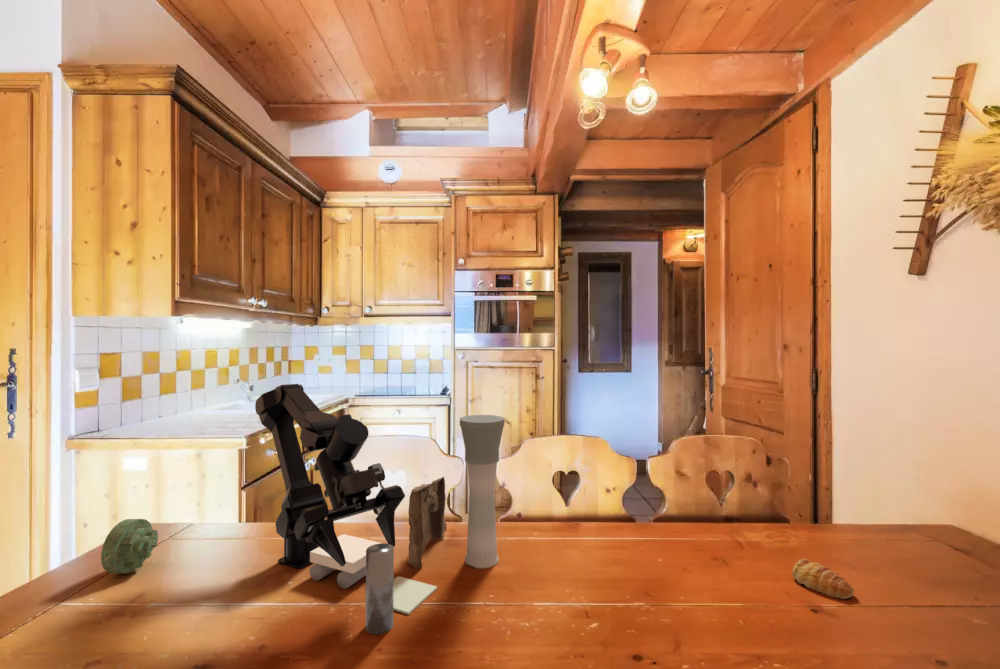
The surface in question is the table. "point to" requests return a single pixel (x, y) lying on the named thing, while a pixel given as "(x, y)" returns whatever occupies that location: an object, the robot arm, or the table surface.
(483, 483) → the container
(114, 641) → the table surface
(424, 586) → the mat
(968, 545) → the table surface
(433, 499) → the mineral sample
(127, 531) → the decorative artifact
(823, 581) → the pastry
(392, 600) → the silver metal cylinder
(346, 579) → the slab on rollers
